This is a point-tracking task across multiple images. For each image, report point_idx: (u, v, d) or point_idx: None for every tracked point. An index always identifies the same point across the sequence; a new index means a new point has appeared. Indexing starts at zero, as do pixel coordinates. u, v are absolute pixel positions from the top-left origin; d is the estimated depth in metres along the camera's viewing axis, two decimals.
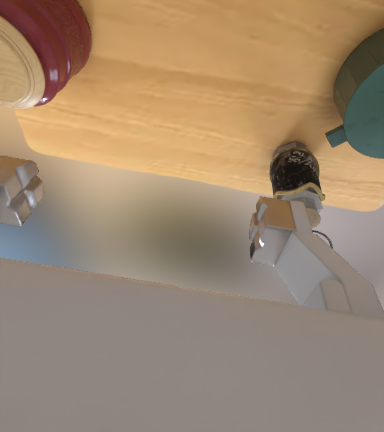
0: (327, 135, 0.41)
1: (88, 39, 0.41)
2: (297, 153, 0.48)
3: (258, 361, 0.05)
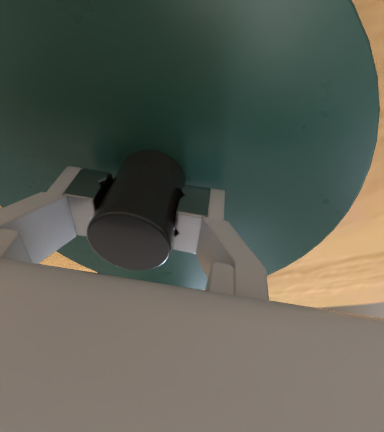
0: None
1: None
2: None
3: (258, 361, 0.05)
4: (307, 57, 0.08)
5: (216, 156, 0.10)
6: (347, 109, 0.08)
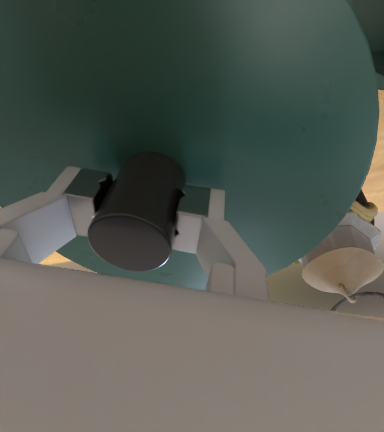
0: None
1: None
2: None
3: (258, 361, 0.05)
4: (307, 59, 0.08)
5: (216, 157, 0.10)
6: (347, 111, 0.08)
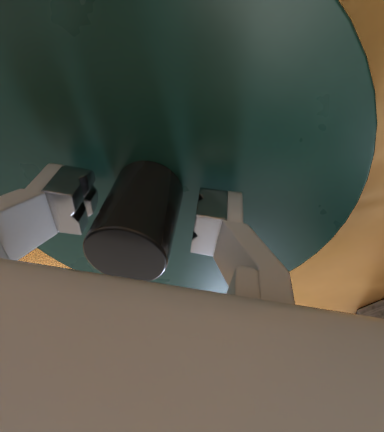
0: None
1: None
2: None
3: (258, 361, 0.05)
4: (304, 72, 0.08)
5: (213, 167, 0.10)
6: (344, 123, 0.08)
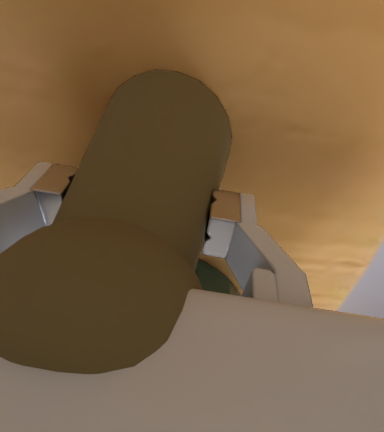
0: None
1: None
2: None
3: (258, 361, 0.05)
4: None
5: None
6: None
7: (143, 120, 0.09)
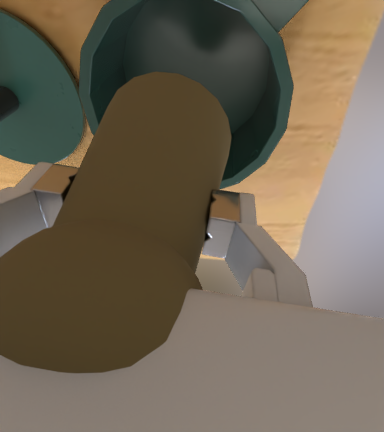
0: None
1: None
2: None
3: (258, 361, 0.05)
4: (53, 73, 0.26)
5: (30, 97, 0.28)
6: (69, 93, 0.27)
7: (143, 122, 0.09)
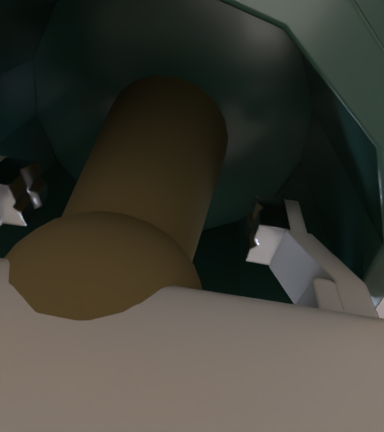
0: None
1: None
2: None
3: (258, 361, 0.05)
4: None
5: None
6: None
7: (145, 123, 0.10)
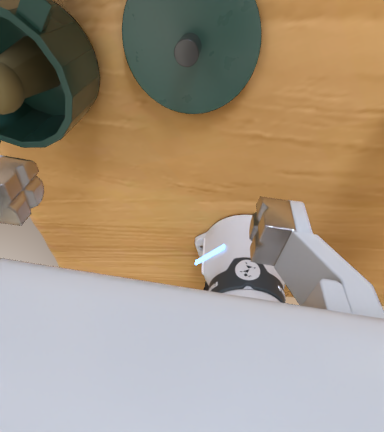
0: (51, 7, 0.25)
1: None
2: None
3: (258, 361, 0.05)
4: (141, 69, 0.34)
5: (167, 48, 0.32)
6: (131, 52, 0.33)
7: None
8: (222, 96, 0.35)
